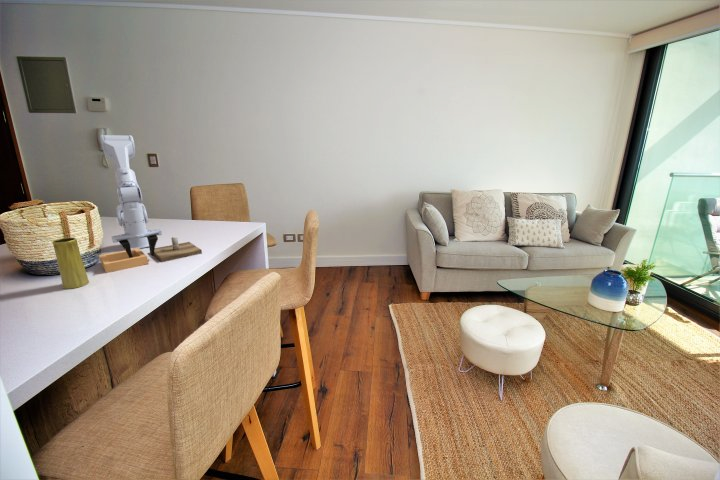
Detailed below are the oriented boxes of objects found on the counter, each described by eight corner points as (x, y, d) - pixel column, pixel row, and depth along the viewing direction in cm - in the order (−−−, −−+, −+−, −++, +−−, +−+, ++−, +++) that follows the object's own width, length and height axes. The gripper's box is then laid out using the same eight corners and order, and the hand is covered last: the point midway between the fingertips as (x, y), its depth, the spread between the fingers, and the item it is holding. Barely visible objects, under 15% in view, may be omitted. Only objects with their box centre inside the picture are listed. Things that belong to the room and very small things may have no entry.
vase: (74, 290, 93) (61, 243, 89) (57, 287, 95) (44, 242, 90) (94, 281, 99) (83, 237, 95) (78, 279, 100) (67, 236, 96)
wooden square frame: (100, 263, 114) (98, 255, 113) (140, 255, 122) (138, 248, 121) (106, 272, 106) (104, 264, 105) (148, 263, 114) (146, 256, 113)
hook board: (151, 252, 125) (148, 238, 123) (189, 245, 135) (187, 231, 133) (161, 261, 116) (158, 246, 114) (201, 253, 125) (199, 238, 124)
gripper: (111, 226, 104) (119, 265, 108) (161, 219, 114) (167, 255, 118) (107, 222, 109) (116, 259, 113) (156, 216, 118) (162, 250, 122)
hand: (142, 257), depth 115 cm, fingers open, 6 cm apart
